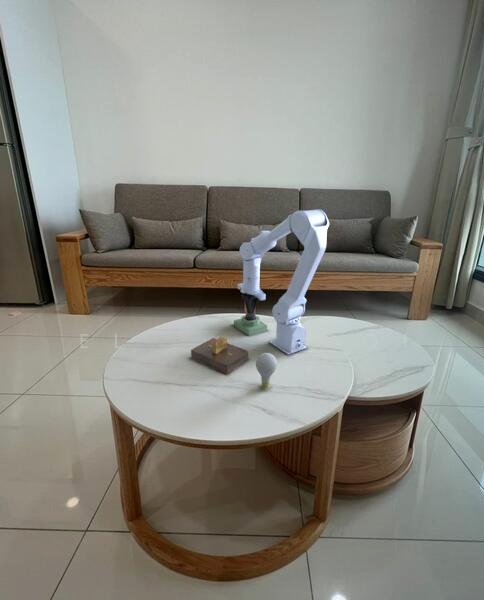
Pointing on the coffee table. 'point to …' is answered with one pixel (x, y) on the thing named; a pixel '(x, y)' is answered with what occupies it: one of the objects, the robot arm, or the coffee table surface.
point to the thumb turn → (219, 344)
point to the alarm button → (250, 317)
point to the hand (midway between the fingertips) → (250, 313)
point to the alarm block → (250, 325)
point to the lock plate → (220, 356)
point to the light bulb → (266, 367)
